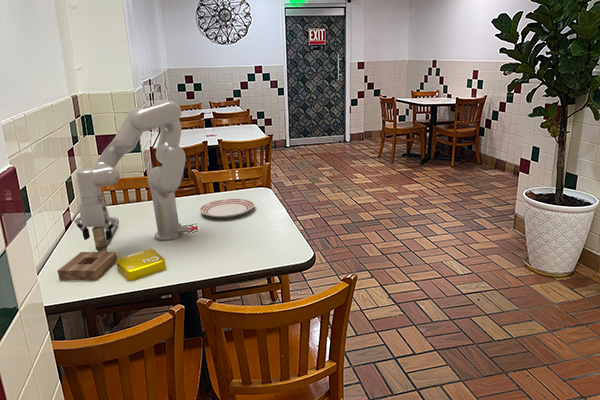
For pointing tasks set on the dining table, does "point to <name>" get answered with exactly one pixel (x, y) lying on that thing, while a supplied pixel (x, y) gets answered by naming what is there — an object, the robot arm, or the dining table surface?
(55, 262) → the dining table surface
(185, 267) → the dining table surface
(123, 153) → the robot arm
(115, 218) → the tube
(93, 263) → the board
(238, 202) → the dinner plate
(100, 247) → the peg
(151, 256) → the element tile
